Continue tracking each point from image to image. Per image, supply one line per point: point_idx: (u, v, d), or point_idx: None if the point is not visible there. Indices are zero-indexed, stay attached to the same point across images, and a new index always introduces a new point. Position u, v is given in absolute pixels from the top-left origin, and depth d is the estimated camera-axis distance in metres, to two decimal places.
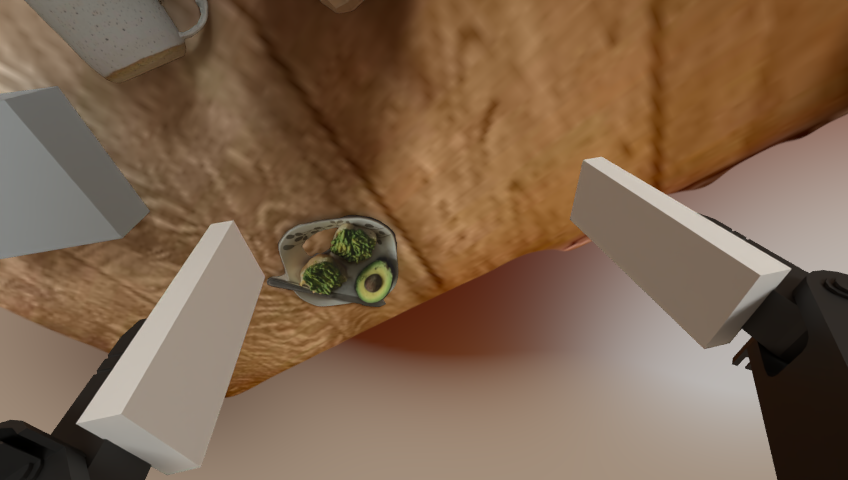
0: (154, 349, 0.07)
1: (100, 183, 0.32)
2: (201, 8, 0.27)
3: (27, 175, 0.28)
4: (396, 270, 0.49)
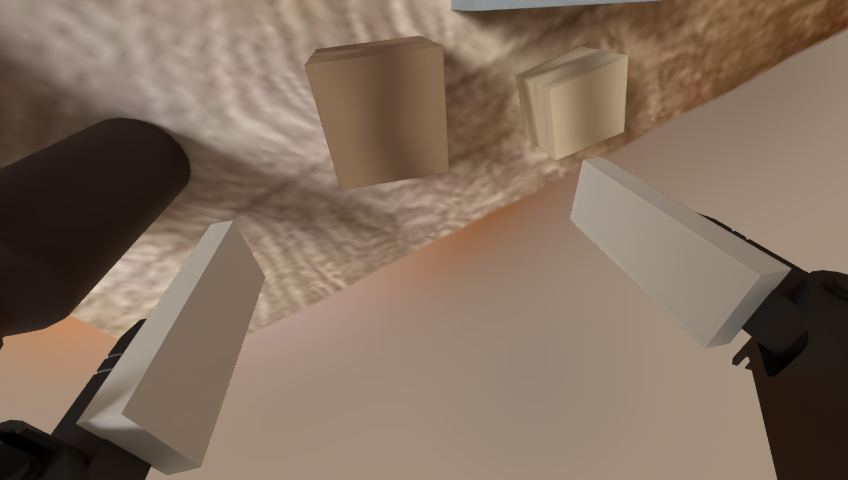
0: (154, 349, 0.07)
1: None
2: None
3: None
4: None
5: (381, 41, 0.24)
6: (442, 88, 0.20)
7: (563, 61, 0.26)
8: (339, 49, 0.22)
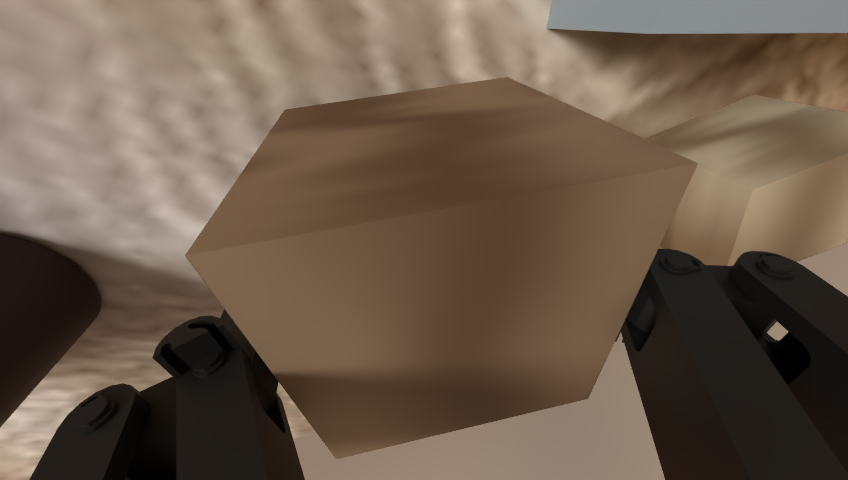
0: None
1: None
2: None
3: None
4: None
5: (429, 93, 0.11)
6: (643, 267, 0.06)
7: (737, 123, 0.15)
8: (334, 121, 0.09)
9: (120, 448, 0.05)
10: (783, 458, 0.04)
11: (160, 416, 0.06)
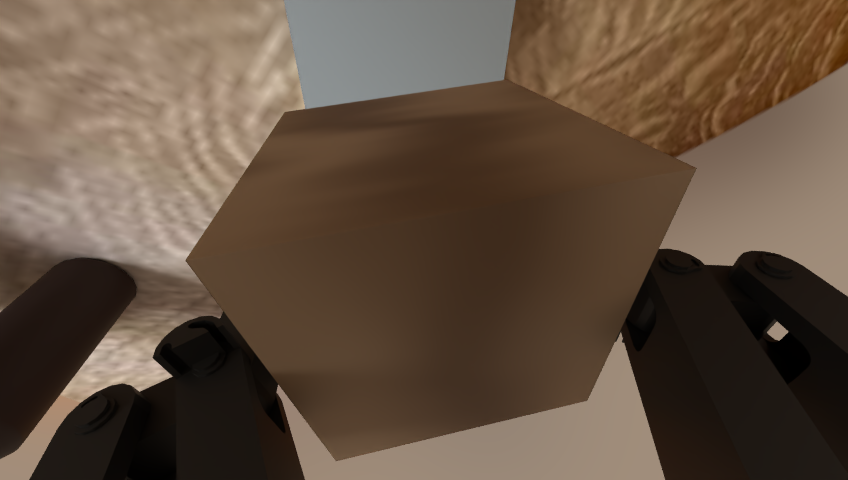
0: None
1: None
2: None
3: (392, 27, 0.19)
4: None
5: (428, 95, 0.11)
6: (641, 270, 0.06)
7: None
8: (334, 124, 0.09)
9: (120, 448, 0.05)
10: (782, 458, 0.04)
11: (160, 416, 0.06)
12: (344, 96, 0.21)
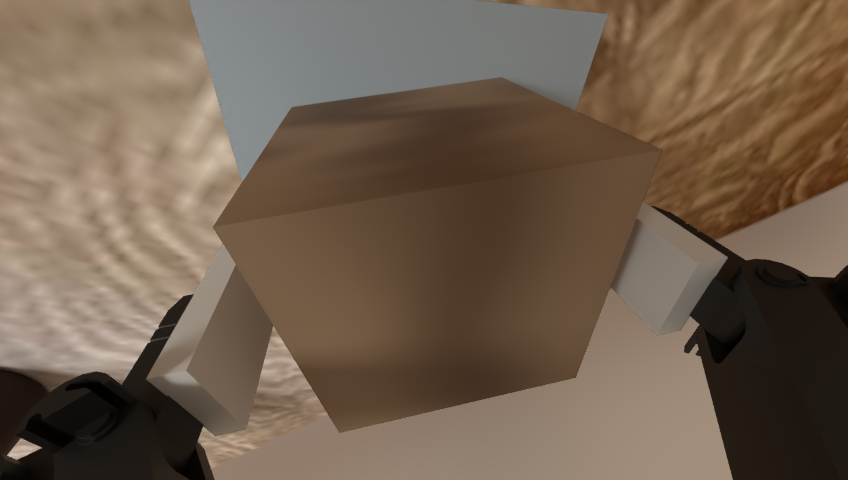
0: (206, 318, 0.07)
1: None
2: None
3: None
4: None
5: (427, 91, 0.11)
6: (619, 247, 0.07)
7: None
8: (338, 116, 0.10)
9: None
10: None
11: None
12: None
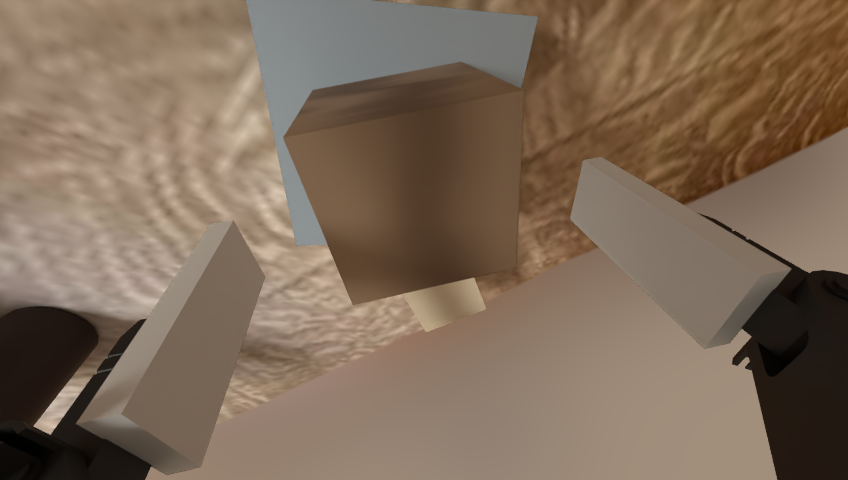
0: (154, 349, 0.07)
1: None
2: None
3: None
4: None
5: (406, 74, 0.16)
6: (517, 156, 0.12)
7: None
8: (345, 92, 0.15)
9: None
10: None
11: None
12: None
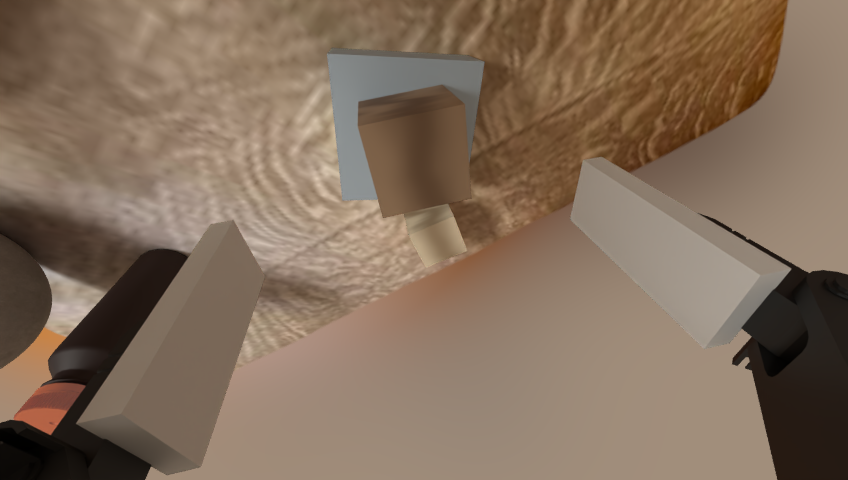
0: (154, 349, 0.07)
1: (423, 55, 0.30)
2: None
3: None
4: None
5: (411, 92, 0.29)
6: (465, 135, 0.24)
7: None
8: (378, 103, 0.27)
9: None
10: None
11: None
12: None
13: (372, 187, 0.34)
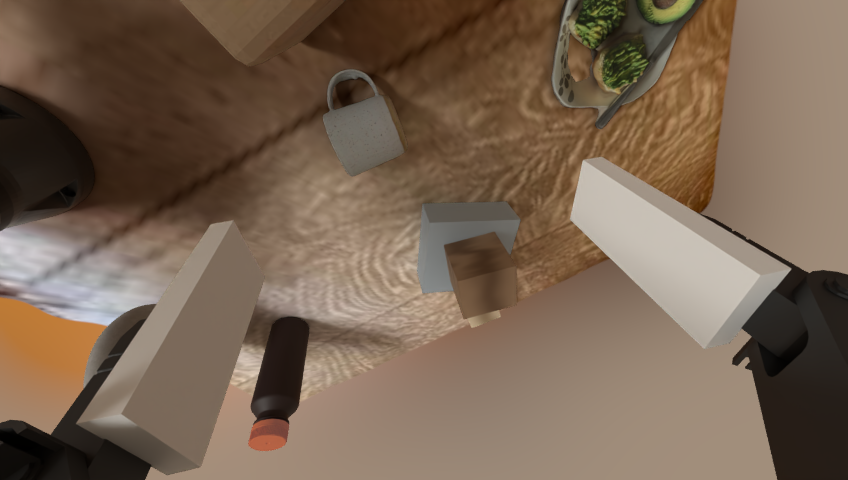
0: (154, 349, 0.07)
1: (481, 212, 0.48)
2: (358, 75, 0.36)
3: None
4: None
5: (476, 239, 0.47)
6: (515, 278, 0.42)
7: None
8: (459, 251, 0.45)
9: None
10: None
11: None
12: (442, 260, 0.49)
13: (443, 285, 0.52)
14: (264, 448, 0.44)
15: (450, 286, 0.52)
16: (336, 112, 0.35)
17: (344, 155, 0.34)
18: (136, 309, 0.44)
